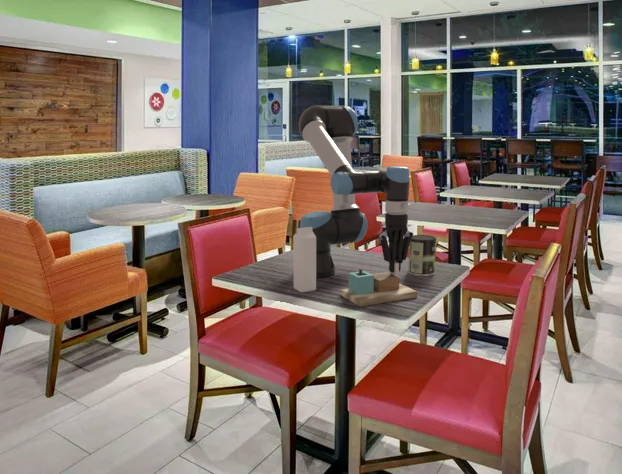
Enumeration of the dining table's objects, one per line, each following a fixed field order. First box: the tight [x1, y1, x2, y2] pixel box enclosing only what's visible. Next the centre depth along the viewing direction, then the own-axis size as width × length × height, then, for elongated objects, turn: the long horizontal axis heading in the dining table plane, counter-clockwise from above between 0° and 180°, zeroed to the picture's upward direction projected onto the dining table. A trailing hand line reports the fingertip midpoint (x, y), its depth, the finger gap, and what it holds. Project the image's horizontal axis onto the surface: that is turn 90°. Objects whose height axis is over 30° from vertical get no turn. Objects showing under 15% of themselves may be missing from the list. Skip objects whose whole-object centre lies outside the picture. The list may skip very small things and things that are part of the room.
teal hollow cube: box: [348, 270, 374, 295], centre depth 181 cm, size 6×6×6 cm
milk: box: [292, 227, 317, 293], centre depth 189 cm, size 6×6×22 cm
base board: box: [340, 268, 418, 307], centre depth 182 cm, size 13×22×10 cm, turn 116°
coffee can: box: [407, 234, 437, 277], centre depth 211 cm, size 10×10×14 cm
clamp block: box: [371, 271, 400, 292], centre depth 185 cm, size 8×8×4 cm
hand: (394, 280), depth 187 cm, fingers closed
